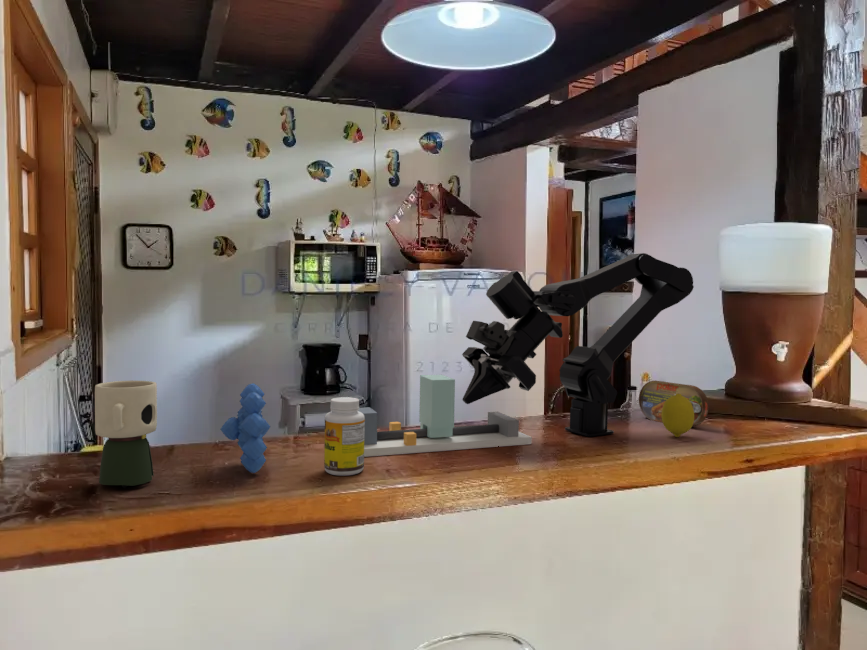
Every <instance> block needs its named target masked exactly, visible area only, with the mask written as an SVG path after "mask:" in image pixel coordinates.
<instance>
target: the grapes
mask: <svg viewBox="0 0 867 650" xmlns="http://www.w3.org/2000/svg"><path fill="white" fill-rule="evenodd" d="M239 396H240V397H241V398H240V400H239V402H240V405H241V408H240V409H238V411H237V415H236V416H237V417H235V416H232V417H230V418H228V419H227V420H226V421H225V422H224V423H223V425H221V428H220V431H221V432H222V434H223V435H224V436H225V437H226V438H227V439H228V440H230V441H235V440H237V446H239V448H240V450H241V451H242V452H243V453H242V454H241V456H240V458H239V459H240V463H241V465H242V466H243V467H244V468H245V470H246V471H247V472H249V473H251V474H255V473H257V472H259V471H260V470H261V468H262V467H264V464H265V463H266V461H267V459H266V458H265V455H264V453H265V451H266V450H267V449H268V447H267V445H266V443H265V442H264V439H263V437H264V436H265V435H266V434H267V433H268V431H269V430H270V428H271V425H270V424H269V423H268V421H267V420H266V419H265V418H264V417H263V415H262V413H263V411H262V410H263V409H264V407H265V406H266V405H267V403H266V401H265V400H264V398H263V397H264V396H265V392H264V391H263V390H262V389H261V387H260V386H259V385H257V384H256V383H253V382H252V383H248V385H246V386H245V388H244V389H243V390H242V391H241V393H240V394H239Z"/></svg>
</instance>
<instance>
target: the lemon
mask: <svg viewBox="0 0 867 650" xmlns="http://www.w3.org/2000/svg"><path fill="white" fill-rule="evenodd" d="M662 422H663V423H662ZM662 422H661V423H662V425H663V427H664V428H665V429H666V430H667V431H668V432H669V433H672V435H673V436H674V437H675V438H679V437H681V436H682V435H684V434H686V433H687V432H689V431H690V430H691V429H692V427H693V426H692V425H693V423H694V409H693V406H692V404H691V402H690V401H689V400H688V399H687V398H685V397H684V396H682V395H681V394H676V395H675V396H672V397H670V398H668V399H667V400H666V401H665V403H664V405H663V408H662Z"/></svg>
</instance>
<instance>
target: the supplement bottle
mask: <svg viewBox="0 0 867 650" xmlns="http://www.w3.org/2000/svg"><path fill="white" fill-rule="evenodd" d="M329 407H330V411H329V412H327V413H326V414H325V416H324V455H323V457H324V459H323V460H324V462H323V465H324V466H323V467H324V470H325V472H326V473H328V474H330V475H331V476H332V475H333V476H341V477H342V476H343V477H344V476H345V477H347V476H354V475H357V474H360V473H361V472H362V471H363V470H364V468H365V457H364V431H365V417H364V414H363V413H361V412H359V408H360V400H359V398H355V397H348V396H347V397H346V396H345V397H344V396H343V397H341V396H340V397H333V398H331V399H330V405H329Z"/></svg>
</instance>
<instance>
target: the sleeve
mask: <svg viewBox="0 0 867 650" xmlns="http://www.w3.org/2000/svg"><path fill="white" fill-rule="evenodd" d="M455 394H456V379H455V378H452V377H449V376H447V375H444V374H429V375H428V374H425V375H420V376H419V411H418V412H419V415H418V416H419V418H418V421H419V422H418V423H420V428H419V429H427V436H428V437H429V438H435V437H450V436H452V435H453V428H454V427H455V398H456V395H455Z"/></svg>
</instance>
